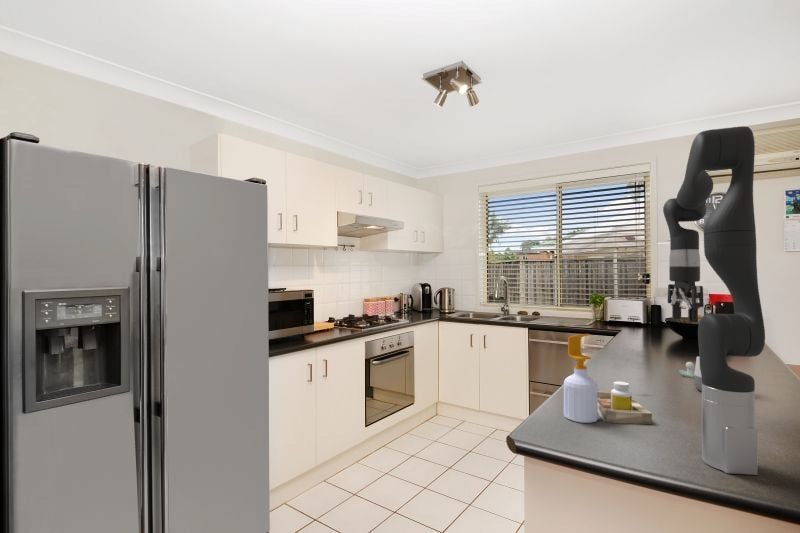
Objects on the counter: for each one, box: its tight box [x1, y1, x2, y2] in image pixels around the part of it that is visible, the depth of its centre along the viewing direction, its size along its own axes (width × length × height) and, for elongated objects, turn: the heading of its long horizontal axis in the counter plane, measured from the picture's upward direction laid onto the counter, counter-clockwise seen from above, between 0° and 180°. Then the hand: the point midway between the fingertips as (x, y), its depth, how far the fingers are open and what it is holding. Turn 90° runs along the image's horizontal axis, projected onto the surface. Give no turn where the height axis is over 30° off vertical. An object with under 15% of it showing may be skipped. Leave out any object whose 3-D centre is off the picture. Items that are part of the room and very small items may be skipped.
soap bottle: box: [563, 333, 599, 424], centre depth 121 cm, size 9×9×25 cm
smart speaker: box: [693, 356, 702, 393], centre depth 146 cm, size 10×9×14 cm
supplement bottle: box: [610, 380, 633, 410], centre depth 122 cm, size 5×5×10 cm
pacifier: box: [678, 361, 696, 379], centre depth 168 cm, size 7×6×6 cm
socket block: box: [598, 390, 653, 425], centre depth 127 cm, size 21×12×4 cm, turn 173°
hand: (684, 320), depth 123 cm, fingers open, 8 cm apart
